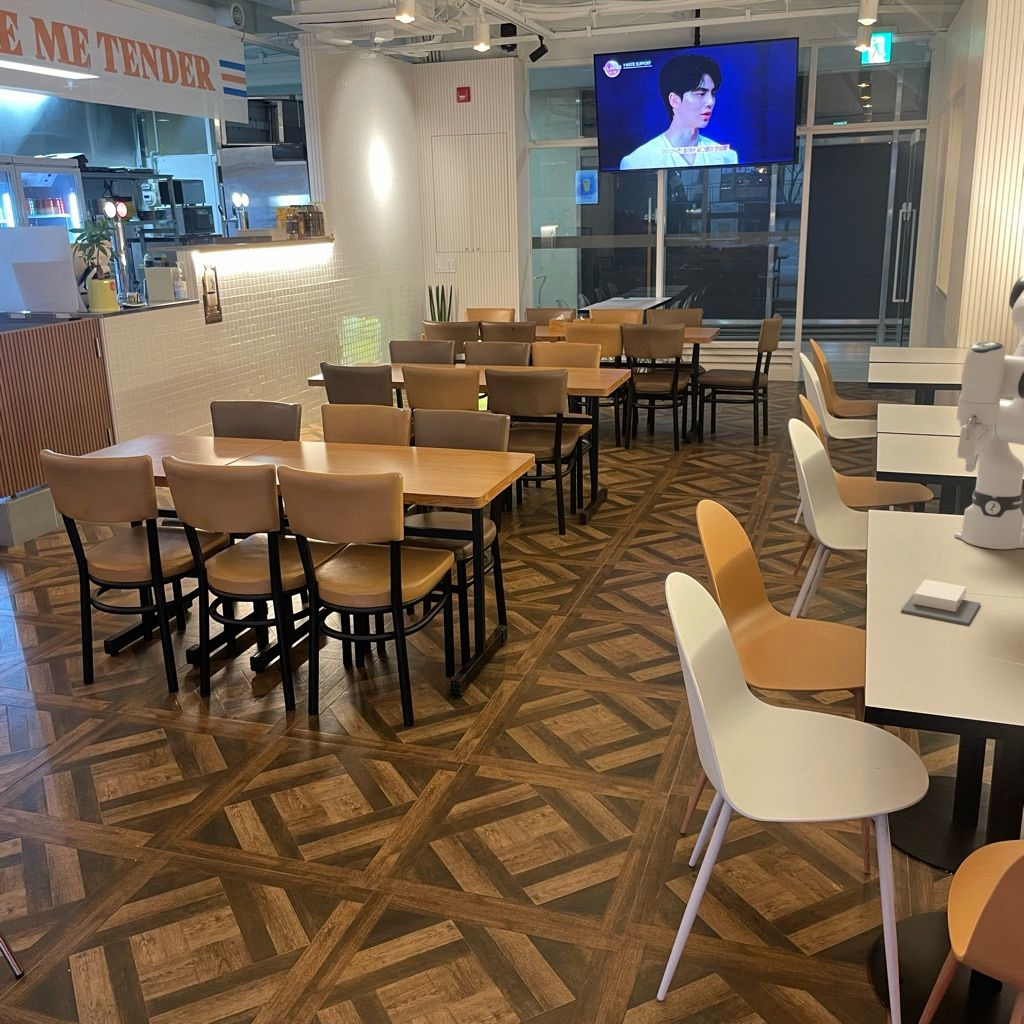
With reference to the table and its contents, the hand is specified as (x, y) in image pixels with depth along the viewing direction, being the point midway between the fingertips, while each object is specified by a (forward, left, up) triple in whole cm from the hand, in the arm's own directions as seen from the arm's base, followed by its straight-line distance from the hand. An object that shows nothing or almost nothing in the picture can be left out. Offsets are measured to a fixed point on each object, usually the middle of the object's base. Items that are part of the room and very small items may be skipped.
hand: (970, 470), depth 235 cm
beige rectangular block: (+15, 0, -25) cm, 29 cm away
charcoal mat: (+23, +1, -27) cm, 36 cm away
